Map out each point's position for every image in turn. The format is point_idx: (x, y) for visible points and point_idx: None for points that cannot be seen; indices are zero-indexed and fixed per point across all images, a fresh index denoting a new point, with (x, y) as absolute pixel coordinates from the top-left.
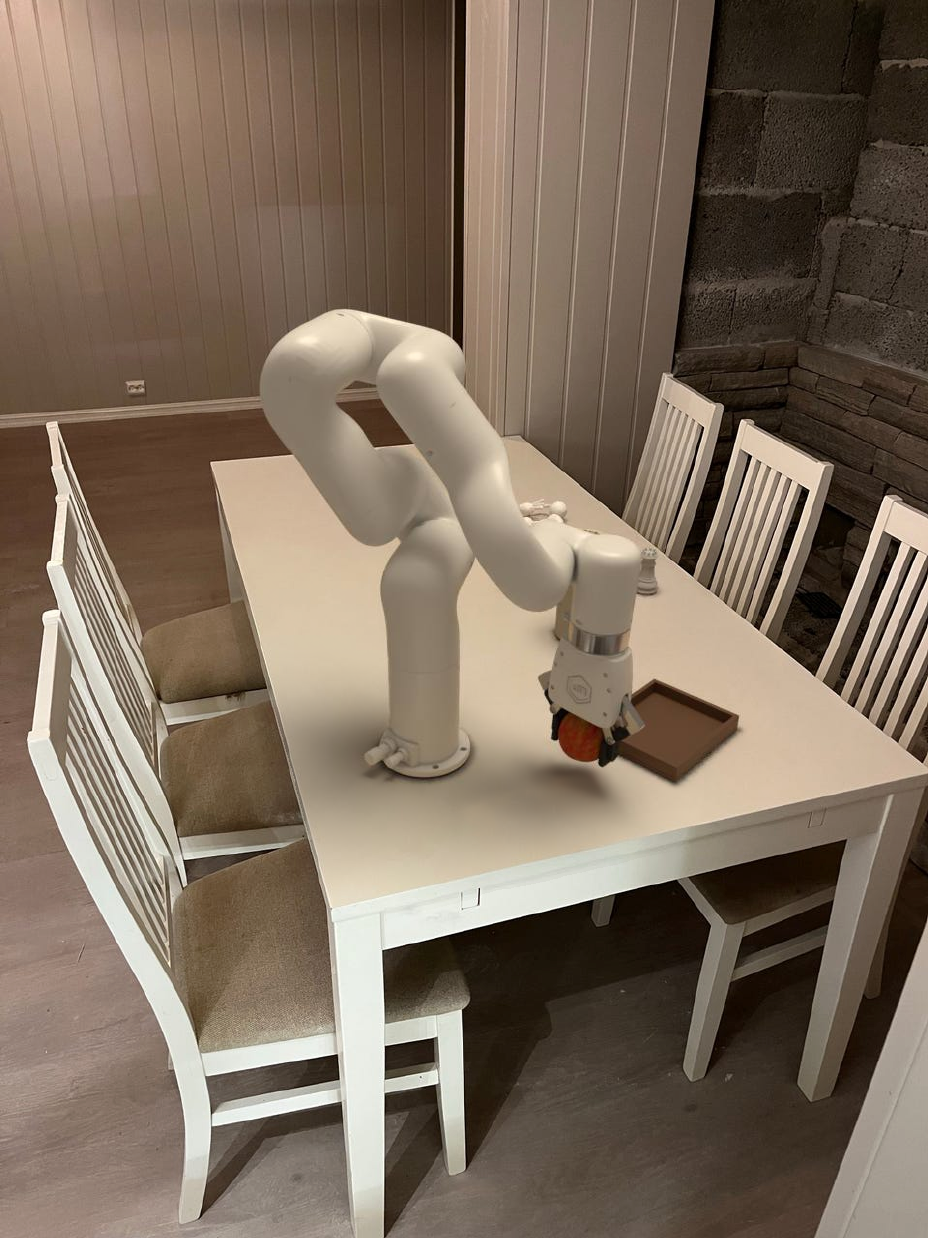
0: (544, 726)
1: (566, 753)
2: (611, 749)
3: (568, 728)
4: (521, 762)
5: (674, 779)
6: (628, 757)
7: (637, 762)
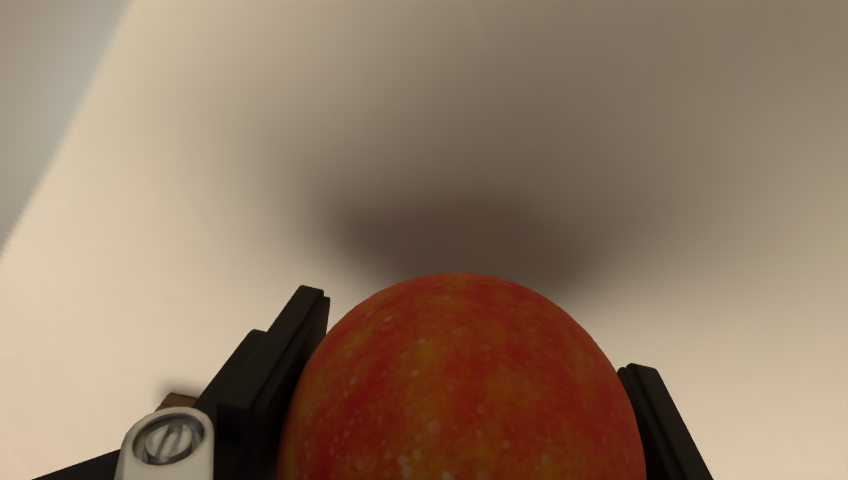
0: None
1: (516, 283)
2: (214, 386)
3: (554, 440)
4: (727, 247)
5: (168, 401)
6: None
7: None
